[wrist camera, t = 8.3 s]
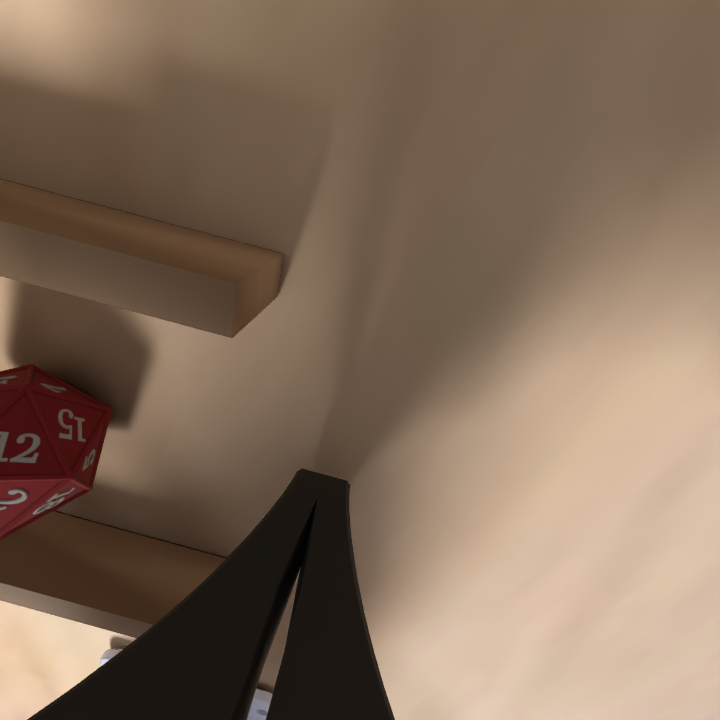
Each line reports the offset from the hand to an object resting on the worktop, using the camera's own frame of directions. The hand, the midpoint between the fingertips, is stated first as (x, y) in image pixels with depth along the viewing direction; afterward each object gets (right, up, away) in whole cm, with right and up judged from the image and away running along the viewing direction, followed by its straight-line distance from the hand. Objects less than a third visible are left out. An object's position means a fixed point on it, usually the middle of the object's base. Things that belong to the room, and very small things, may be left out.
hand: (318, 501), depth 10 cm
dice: (-7, +3, +1) cm, 8 cm away
